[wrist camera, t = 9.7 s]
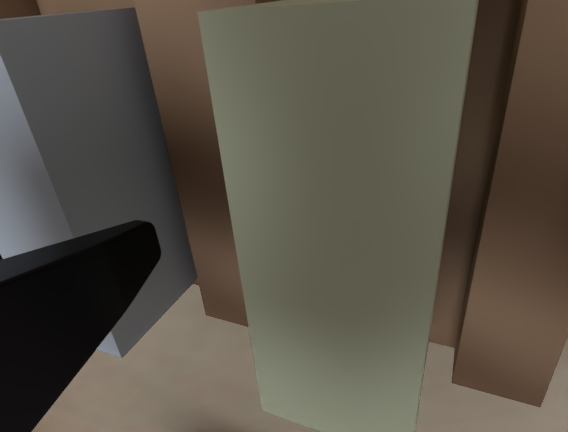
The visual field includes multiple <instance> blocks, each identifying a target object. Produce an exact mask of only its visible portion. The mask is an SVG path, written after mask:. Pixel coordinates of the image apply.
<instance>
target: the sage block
mask: <svg viewBox="0 0 568 432" xmlns="http://www.w3.org/2000/svg"><path fill="white" fill-rule="evenodd" d="M478 4H479V0H281V1H273V2H266V3H258V4H251V5H244V6H236V7H229V8H221V9H214V10H207V11H199V12H197V14H198V20H199V26H200V32H201V38H202V44H203V50H204V57H205V63H206V69H207V75H208V81H209V87H210V93H211V100H212V106H213V112H214V118H215V124H216V130H217V136H218V142H219V149H220V155H221V161H222V167H223V173H224V179H225V185H226V192H227V198H228V204H229V210H230V216H231V222H232V228H233V235H234V241H235V247H236V253H237V259H238V265H239V271H240V278H241V284H242V290H243V296H244V302H245V308H246V314H247V321H248V327H249V333H250V339H251V345H252V351H253V357H254V364H255V370H256V376H257V382H258V388H259V394H260V400H261V406H262V411H264V412H267V413H270V414H272V415H275V416H278V417H281V418H283V419H286V420H289V421H292V422H294V423H297V424H300V425H303V426H305V427H308V428H311V429H314V430H316V431H319V432H415V427H416V421H417V414H418V408H419V401H420V395H421V389H422V382H423V376H424V369H425V363H426V356H427V350H428V344H429V337H430V331H431V324H432V318H433V311H434V304H435V297H436V290H437V283H438V277H439V270H440V263H441V256H442V249H443V242H444V236H445V229H446V222H447V215H448V208H449V202H450V195H451V188H452V181H453V174H454V167H455V161H456V154H457V147H458V140H459V133H460V126H461V120H462V113H463V106H464V99H465V92H466V86H467V79H468V72H469V65H470V58H471V51H472V45H473V38H474V31H475V24H476V17H477V10H478Z"/></svg>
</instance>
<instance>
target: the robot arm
mask: <svg viewBox="0 0 568 432" xmlns="http://www.w3.org/2000/svg"><path fill="white" fill-rule="evenodd" d="M160 258H161V247H160V244H159V240H158V236H157V233H156V229H155V226H154V225H153V224H152V223H151V222H147V221H142V220H134V221H130V222H127V223H123V224H120V225H117V226H113V227H110V228H106V229H103V230H100V231H96V232H93V233H90V234H86V235H83V236H79V237H76V238H73V239H69V240H66V241H62V242H59V243H56V244H52V245H49V246H45V247H42V248H39V249H35V250H32V251H29V252H25V253H22V254H18V255H15V256H12V257H8V258H5V259H1V260H0V432H31V431H32V430H33V429H34V428H35V426H36V425H37V424H38V423H39V421H40V420H41V419H42V418H43V416H44V415H45V414H46V412H47V411H48V410H49V409H50V407H51V406H52V405H53V404H54V402H55V401H56V400H57V399H58V397H59V396H60V395H61V393H62V392H63V391H64V390H65V388H66V387H67V386H68V385H69V383H70V382H71V381H72V379H73V378H74V377H75V376H76V374H77V373H78V372H79V371H80V369H81V368H82V367H83V366H84V364H85V363H86V362H87V360H88V359H89V358H90V357H91V355H92V354H93V353H94V352H95V350H96V349H97V348H98V347H99V345H100V344H101V343H102V341H103V340H104V339H105V338H106V336H107V335H108V334H109V333H110V331H111V330H112V329H113V328H114V326H115V325H116V324H117V322H118V321H119V320H120V319H121V317H122V316H123V315H124V313H125V312H126V311H127V309H128V308H129V306H130V305H131V303H132V302H133V300H134V299H135V297H136V296H137V294H138V293H139V291H140V290H141V288H142V287H143V285H144V283H145V282H146V280H147V279H148V277H149V276H150V274H151V273H152V271H153V270H154V268H155V267H156V265H157V264H158V262H159V260H160Z"/></svg>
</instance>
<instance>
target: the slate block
mask: <svg viewBox="0 0 568 432" xmlns="http://www.w3.org/2000/svg"><path fill="white" fill-rule="evenodd" d="M134 220H142V221H147V222H151V223H152V224H153V225H154V226H155V229H156V233H157V236H158V240H159V244H160V247H161V258H160V260H159V262H158V264H157V265H156V267H155V268H154V270H153V271H152V273H151V274H150V276H149V277H148V279H147V280H146V282H145V283H144V285H143V287H142V288H141V290H140V291H139V293H138V294H137V296H136V297H135V299H134V300H133V302H132V303H131V305H130V306H129V308H128V309H127V311H126V312H125V313H124V315H123V316H122V317H121V319H120V320H119V321H118V322H117V324H116V325H115V326H114V328H113V329H112V330H111V331H110V333H109V334H108V335H107V336H106V338H105V339H104V340H103V341H102V343H101V344H100V345H99V347H98V348H97V350H100V351H102V352H105V353H108V354H111V355H113V356H116V357H119V358H123V357H124V356H125V355H126V354H127V353H128V351H129V350H130V349H131V348H132V347H133V346H134V345H135V344H136V343H137V342H138V341H139V340H140V339H141V338H142V337H143V336H144V335H145V333H146V332H147V331H148V330H149V329H150V328H151V327H152V326H153V325H154V324H155V323H156V322H157V321H158V320H159V319H160V318H161V317H162V315H163V314H164V313H165V312H166V311H167V310H168V309H169V308H170V307H171V306H172V305H173V304H174V303H175V302H176V301H177V300H178V299H179V297H180V296H181V295H182V294H183V293H184V292H185V291H186V290H187V289H188V288H189V287H190V286H191V285H192V284H193V283H194V282H195V281H196V279H197V274H196V269H195V265H194V261H193V256H192V252H191V248H190V243H189V239H188V235H187V230H186V226H185V222H184V217H183V213H182V209H181V204H180V200H179V195H178V191H177V187H176V182H175V178H174V174H173V169H172V165H171V161H170V156H169V152H168V148H167V143H166V139H165V135H164V130H163V126H162V122H161V117H160V113H159V109H158V104H157V100H156V96H155V91H154V87H153V83H152V78H151V74H150V70H149V65H148V61H147V57H146V52H145V48H144V44H143V39H142V35H141V31H140V26H139V22H138V18H137V13H136V9H135V7H130V8H118V9H106V10H94V11H82V12H69V13H57V14H47V15H36V16H26V17H15V18H5V19H0V254H1V256H2V258H3V259H5V258H8V257H12V256H15V255H18V254H22V253H25V252H29V251H32V250H35V249H39V248H42V247H45V246H49V245H52V244H56V243H59V242H62V241H66V240H69V239H73V238H76V237H79V236H83V235H86V234H90V233H93V232H96V231H100V230H103V229H106V228H110V227H113V226H117V225H120V224H123V223H127V222H130V221H134Z"/></svg>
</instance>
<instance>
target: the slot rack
mask: <svg viewBox="0 0 568 432" xmlns="http://www.w3.org/2000/svg"><path fill="white" fill-rule="evenodd" d="M273 1H281V0H0V19H5V18H15V17H26V16H36V15H47V14H57V13H69V12H82V11H94V10H106V9H118V8H130V7H135V9H136V13H137V18H138V22H139V26H140V31H141V35H142V39H143V44H144V48H145V52H146V57H147V61H148V65H149V70H150V74H151V78H152V83H153V87H154V91H155V96H156V100H157V104H158V109H159V113H160V117H161V122H162V126H163V130H164V135H165V139H166V143H167V148H168V152H169V156H170V161H171V165H172V169H173V174H174V178H175V182H176V187H177V191H178V195H179V200H180V204H181V209H182V213H183V217H184V222H185V226H186V230H187V235H188V239H189V243H190V248H191V252H192V256H193V261H194V265H195V269H196V274H197V279H196V281H195V282H194V283H193V284H196V285H199V287H200V291H201V295H202V300H203V304H204V308H205V313H206V315H207V316H211V317H215V318H218V319H222V320H226V321H229V322H233V323H236V324H240V325H244V326H247V327H248V321H247V314H246V308H245V302H244V296H243V290H242V284H241V278H240V271H239V265H238V259H237V253H236V247H235V241H234V235H233V228H232V222H231V216H230V210H229V204H228V198H227V192H226V185H225V179H224V173H223V167H222V161H221V155H220V149H219V142H218V136H217V130H216V124H215V118H214V112H213V106H212V100H211V93H210V87H209V81H208V75H207V69H206V63H205V57H204V50H203V44H202V38H201V32H200V26H199V20H198V14H197V12H199V11H207V10H214V9H221V8H229V7H236V6H244V5H251V4H258V3H266V2H273ZM567 336H568V0H479V4H478V10H477V17H476V24H475V31H474V38H473V45H472V51H471V58H470V65H469V72H468V79H467V86H466V92H465V99H464V106H463V113H462V120H461V126H460V133H459V140H458V147H457V154H456V161H455V167H454V174H453V181H452V188H451V195H450V202H449V208H448V215H447V222H446V229H445V236H444V242H443V249H442V256H441V263H440V270H439V277H438V283H437V290H436V297H435V304H434V311H433V318H432V324H431V331H430V337H429V342H433V343H437V344H442V345H446V346H450V347H454V348H455V351H454V363H453V375H452V383H454V384H458V385H461V386H465V387H468V388H472V389H476V390H479V391H483V392H487V393H490V394H494V395H497V396H501V397H505V398H508V399H512V400H516V401H519V402H523V403H526V404H530V405H534V406H537V407H541V404H542V402H543V399H544V397H545V394H546V391H547V389H548V386H549V383H550V381H551V378H552V376H553V373H554V370H555V368H556V365H557V363H558V360H559V357H560V355H561V352H562V350H563V347H564V344H565V342H566V339H567Z"/></svg>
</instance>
